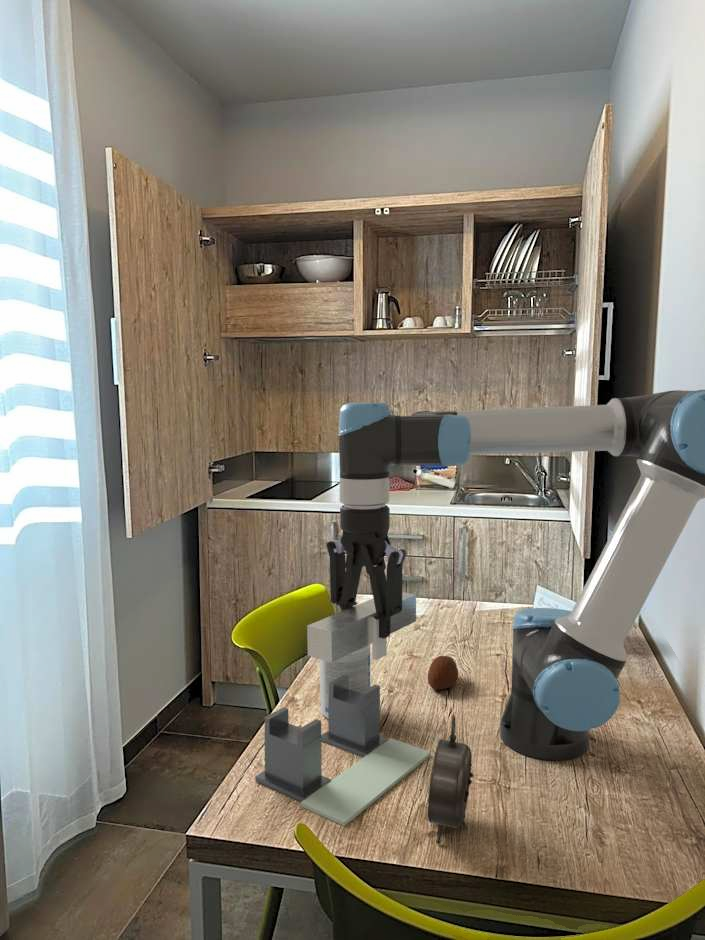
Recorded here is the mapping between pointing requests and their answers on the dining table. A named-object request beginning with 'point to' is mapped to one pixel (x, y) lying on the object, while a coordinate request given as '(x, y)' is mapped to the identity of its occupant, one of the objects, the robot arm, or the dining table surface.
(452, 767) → the alarm clock
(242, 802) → the dining table surface
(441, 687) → the potato
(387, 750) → the mat
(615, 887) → the dining table surface
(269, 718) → the post left
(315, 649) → the rail
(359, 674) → the supplement tub
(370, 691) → the post right
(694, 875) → the dining table surface
